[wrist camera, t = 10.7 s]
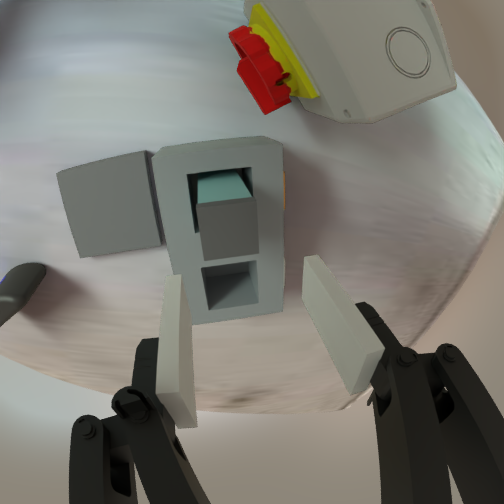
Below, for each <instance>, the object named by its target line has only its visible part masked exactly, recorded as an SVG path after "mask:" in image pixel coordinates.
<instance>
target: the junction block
mask: <svg viewBox="0 0 504 504" xmlns="http://www.w3.org/2000/svg"><path fill="white" fill-rule="evenodd" d="M151 159H152V166H153V173H154V179H155V185H156V191H157V197H158V203H159V208H160V213H161V219H162V224H163V229H164V234H165V238H166V243H167V248H168V252H169V257H170V261H171V265H172V270H173V274H174V275H178V274H182V279H183V283H184V288H185V292H186V296H187V300H188V304H189V308H190V312H191V316H192V325H198V324H205V323H213V322H220V321H227V320H234V319H240V318H247V317H253V316H259V315H265V314H271V313H276V312H282V311H283V291H284V287H285V258H284V209H285V172H284V171H283V144H282V143H279V142H277V141H275V140H272V139H270V138H267V137H265V136H256V137H242V138H230V139H220V140H211V141H202V142H195V143H187V144H180V145H174V146H167V147H162V148H161V149H160V150H159V151H158V152H157V153H156V154H155V155H154V156H153V157H152V158H151ZM233 168H235V170H236V172H237V173H238V175H239V176H240V178H241V180H242V181H243V183H244V185H245V186H246V188H247V189H248V191H249V193H250V194H251V196H252V197H255V199H256V201H257V215H258V236H259V254H253V255H246V256H238V257H231V258H224V259H217V260H209V261H204V257H203V251H202V245H201V238H200V232H199V225H198V218H197V211H196V204H198V173H199V172H207V171H215V170H224V169H233Z"/></svg>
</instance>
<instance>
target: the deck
mask: <svg viewBox="0 0 504 504" xmlns="http://www.w3.org/2000/svg"><path fill="white" fill-rule="evenodd" d="M56 175H57V179H58V184H59V188H60V192H61V196H62V200H63V204H64V208H65V211H66V215H67V219H68V222H69V225H70V229H71V232H72V235H73V238H74V241H75V244H76V247H77V250H78V253H79V256H80V258H85V257H91V256H97V255H104V254H110V253H116V252H123V251H129V250H136V249H143V248H150V247H156V246H161V244H162V237H161V232H160V227H159V222H158V217H157V212H156V207H155V202H154V196H153V191H152V185H151V179H150V173H149V166H148V159H147V153H146V150H145V151H139V152H134V153H129V154H125V155H120V156H116V157H111V158H107V159H103V160H99V161H95V162H91V163H87V164H83V165H80V166H76V167H72V168H69V169H66V170H62V171H60V172H58V173H56Z"/></svg>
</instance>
